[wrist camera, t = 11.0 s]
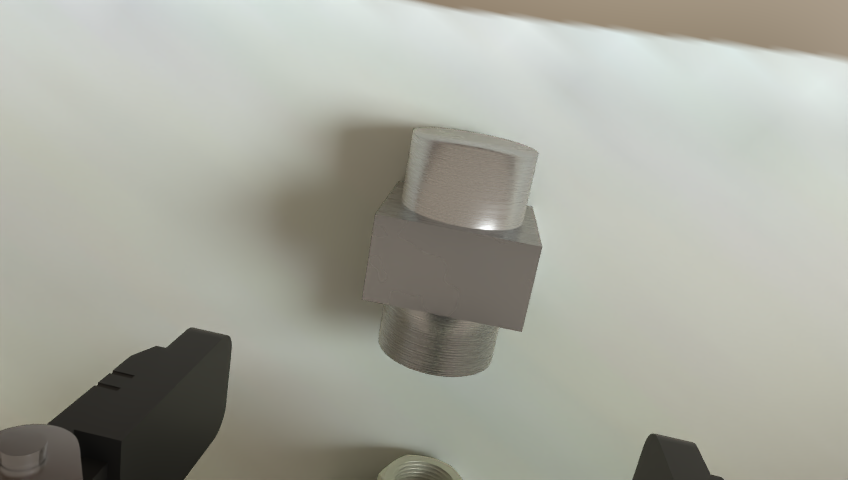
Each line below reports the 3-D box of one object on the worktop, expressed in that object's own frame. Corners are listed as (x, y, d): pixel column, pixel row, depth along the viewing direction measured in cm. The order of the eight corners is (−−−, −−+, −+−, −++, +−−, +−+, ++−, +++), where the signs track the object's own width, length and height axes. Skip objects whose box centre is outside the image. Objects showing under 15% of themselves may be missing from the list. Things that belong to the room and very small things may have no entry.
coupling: (546, 144, 25) (560, 169, 20) (503, 330, 27) (506, 397, 22) (409, 118, 25) (387, 136, 20) (378, 305, 27) (351, 365, 22)
